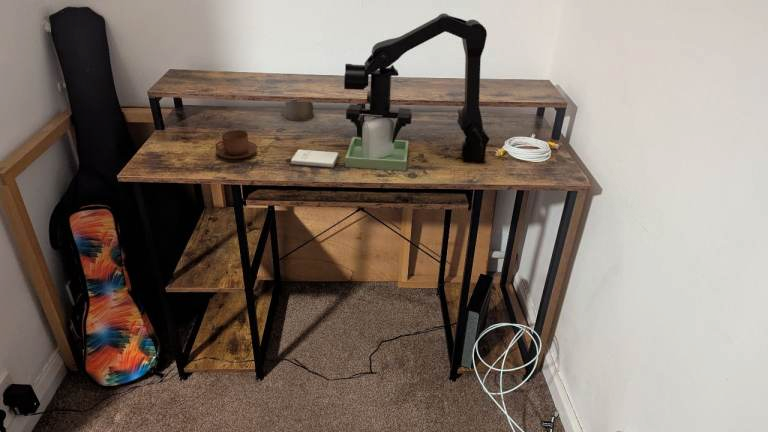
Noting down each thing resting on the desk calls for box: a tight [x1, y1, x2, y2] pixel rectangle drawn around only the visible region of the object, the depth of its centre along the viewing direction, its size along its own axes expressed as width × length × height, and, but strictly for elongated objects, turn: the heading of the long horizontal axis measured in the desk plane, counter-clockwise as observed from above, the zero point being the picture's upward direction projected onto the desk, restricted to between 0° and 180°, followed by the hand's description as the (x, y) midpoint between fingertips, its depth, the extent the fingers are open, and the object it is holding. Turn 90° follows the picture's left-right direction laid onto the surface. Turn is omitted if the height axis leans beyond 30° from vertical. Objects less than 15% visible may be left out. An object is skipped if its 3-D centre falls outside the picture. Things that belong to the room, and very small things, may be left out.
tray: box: [344, 136, 409, 172], centre depth 154 cm, size 18×16×3 cm
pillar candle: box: [284, 101, 314, 122], centre depth 180 cm, size 10×10×15 cm
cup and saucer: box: [215, 129, 258, 160], centre depth 152 cm, size 12×12×6 cm
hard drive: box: [290, 149, 340, 169], centre depth 151 cm, size 2×8×12 cm
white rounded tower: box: [362, 117, 396, 159], centre depth 152 cm, size 10×4×12 cm, turn 126°
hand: (378, 141), depth 153 cm, fingers closed on white rounded tower, 9 cm apart
